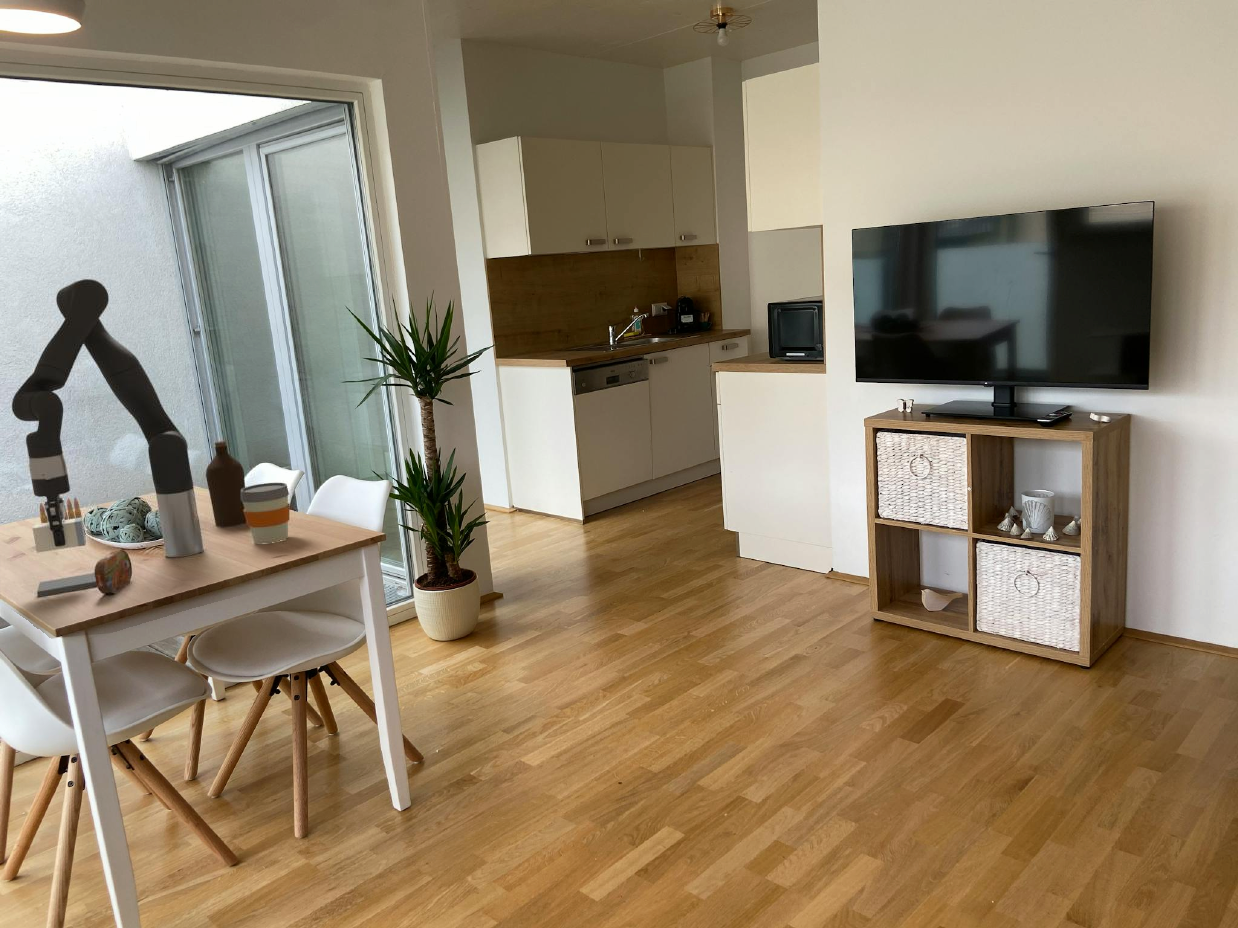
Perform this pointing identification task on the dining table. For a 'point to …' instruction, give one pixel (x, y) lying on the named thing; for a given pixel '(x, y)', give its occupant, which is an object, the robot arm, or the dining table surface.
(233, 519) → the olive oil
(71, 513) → the ammunition clip
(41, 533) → the box
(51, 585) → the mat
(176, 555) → the robot arm
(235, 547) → the dining table surface
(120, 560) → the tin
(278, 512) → the reusable coffee cup
